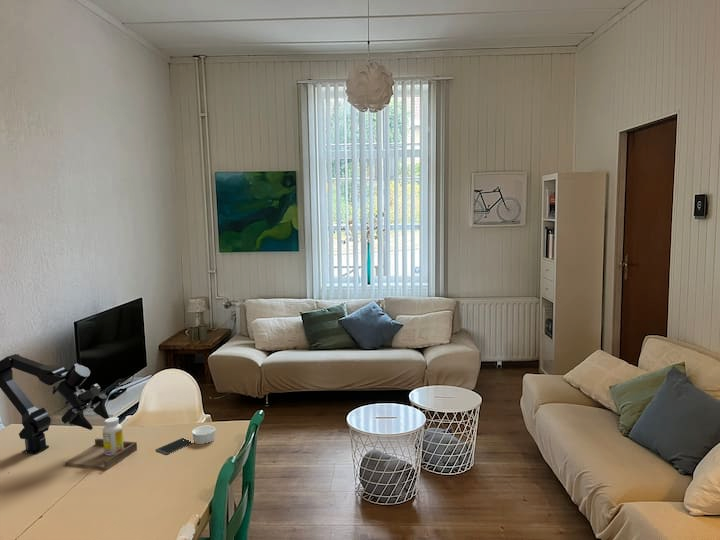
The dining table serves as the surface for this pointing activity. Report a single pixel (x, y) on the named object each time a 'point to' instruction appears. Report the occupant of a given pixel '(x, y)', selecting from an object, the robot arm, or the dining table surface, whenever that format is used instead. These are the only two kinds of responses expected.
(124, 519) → the dining table surface
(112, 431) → the supplement bottle
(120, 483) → the dining table surface
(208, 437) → the ramekin
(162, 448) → the cell phone
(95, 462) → the dock board
